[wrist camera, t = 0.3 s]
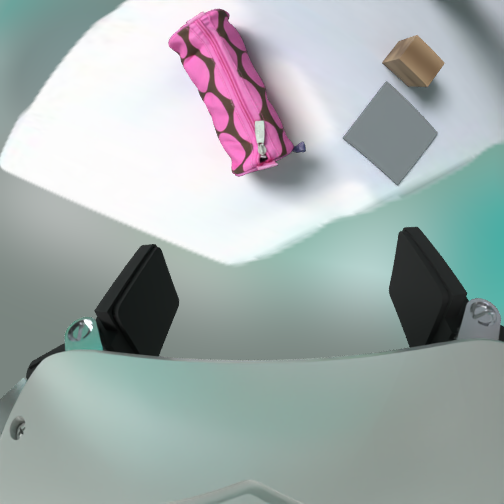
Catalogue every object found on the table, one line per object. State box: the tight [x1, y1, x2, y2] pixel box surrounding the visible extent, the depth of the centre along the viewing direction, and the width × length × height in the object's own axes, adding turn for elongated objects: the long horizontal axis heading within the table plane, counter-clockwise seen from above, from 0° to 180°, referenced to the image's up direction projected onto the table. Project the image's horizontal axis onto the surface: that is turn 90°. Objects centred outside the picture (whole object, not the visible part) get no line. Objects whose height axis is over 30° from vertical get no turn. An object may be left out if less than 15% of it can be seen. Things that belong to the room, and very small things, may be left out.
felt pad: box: [343, 82, 438, 185], centre depth 32 cm, size 11×11×1 cm
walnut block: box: [382, 35, 444, 87], centre depth 24 cm, size 5×5×6 cm
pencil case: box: [168, 9, 306, 177], centre depth 28 cm, size 21×10×10 cm, turn 26°
